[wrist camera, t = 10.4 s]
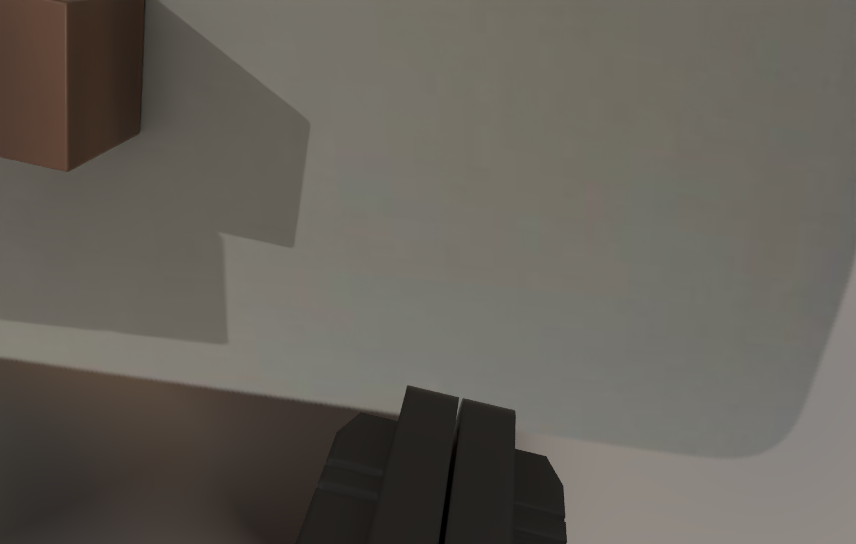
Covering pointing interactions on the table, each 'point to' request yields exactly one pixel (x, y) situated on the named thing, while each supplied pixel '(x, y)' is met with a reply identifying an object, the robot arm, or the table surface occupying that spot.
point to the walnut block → (69, 78)
